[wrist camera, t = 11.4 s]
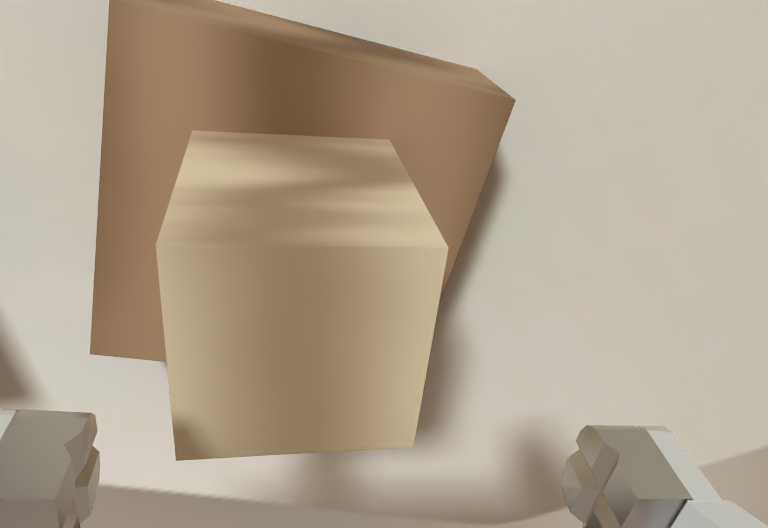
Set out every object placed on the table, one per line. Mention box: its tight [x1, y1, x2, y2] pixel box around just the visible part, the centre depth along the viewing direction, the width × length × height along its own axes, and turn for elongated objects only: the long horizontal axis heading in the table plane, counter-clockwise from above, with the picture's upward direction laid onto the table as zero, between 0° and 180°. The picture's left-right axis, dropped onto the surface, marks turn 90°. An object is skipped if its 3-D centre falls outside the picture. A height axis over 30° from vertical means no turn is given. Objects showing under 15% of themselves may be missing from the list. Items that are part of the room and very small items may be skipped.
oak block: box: [156, 130, 449, 461], centre depth 14 cm, size 5×5×6 cm
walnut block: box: [90, 0, 515, 362], centre depth 19 cm, size 10×10×4 cm
